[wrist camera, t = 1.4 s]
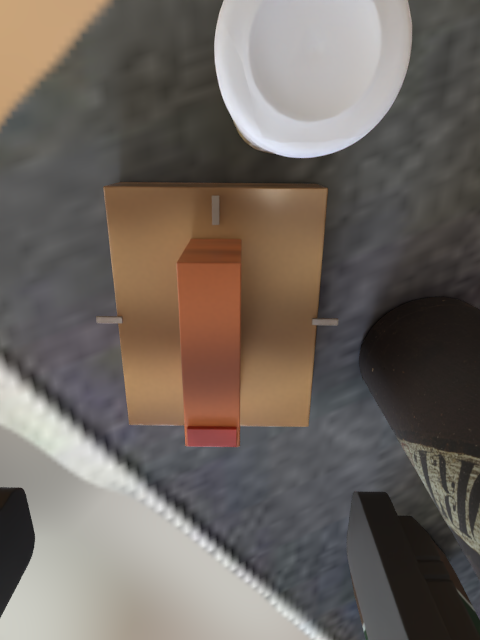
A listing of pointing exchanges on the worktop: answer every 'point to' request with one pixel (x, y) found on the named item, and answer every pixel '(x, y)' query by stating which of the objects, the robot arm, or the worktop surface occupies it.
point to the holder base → (256, 290)
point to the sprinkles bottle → (310, 70)
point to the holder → (210, 340)
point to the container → (434, 402)
